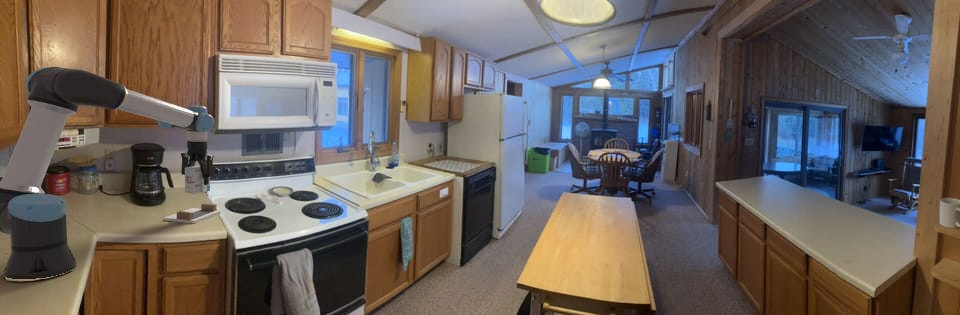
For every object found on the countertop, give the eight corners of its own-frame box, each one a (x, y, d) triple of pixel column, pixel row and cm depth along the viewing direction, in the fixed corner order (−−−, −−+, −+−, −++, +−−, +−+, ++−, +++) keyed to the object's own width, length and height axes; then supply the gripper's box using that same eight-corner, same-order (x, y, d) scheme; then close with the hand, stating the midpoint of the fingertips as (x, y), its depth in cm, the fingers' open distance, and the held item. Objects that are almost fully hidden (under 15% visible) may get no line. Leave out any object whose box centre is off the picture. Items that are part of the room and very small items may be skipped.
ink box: (201, 189, 192) (201, 164, 190) (210, 190, 191) (210, 165, 189) (184, 192, 184) (184, 166, 182) (193, 194, 182) (193, 168, 181)
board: (194, 223, 180) (194, 214, 179) (163, 220, 180) (163, 211, 180) (220, 213, 197) (220, 204, 196) (192, 210, 197) (192, 201, 197)
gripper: (223, 141, 187) (223, 191, 190) (183, 137, 188) (183, 187, 191) (211, 143, 180) (211, 194, 183) (170, 139, 181) (171, 190, 184)
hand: (197, 190), depth 187 cm, fingers closed on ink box, 6 cm apart
